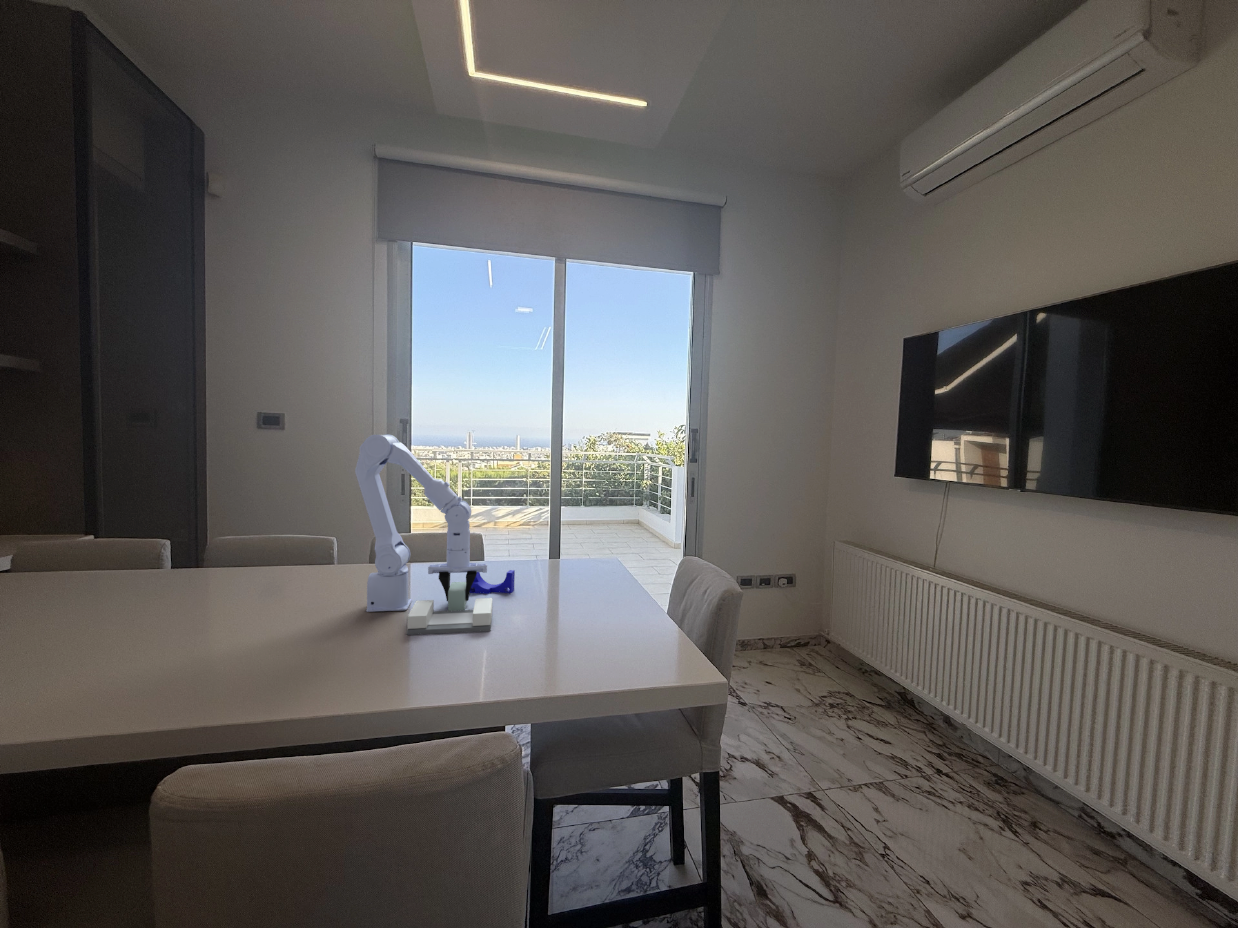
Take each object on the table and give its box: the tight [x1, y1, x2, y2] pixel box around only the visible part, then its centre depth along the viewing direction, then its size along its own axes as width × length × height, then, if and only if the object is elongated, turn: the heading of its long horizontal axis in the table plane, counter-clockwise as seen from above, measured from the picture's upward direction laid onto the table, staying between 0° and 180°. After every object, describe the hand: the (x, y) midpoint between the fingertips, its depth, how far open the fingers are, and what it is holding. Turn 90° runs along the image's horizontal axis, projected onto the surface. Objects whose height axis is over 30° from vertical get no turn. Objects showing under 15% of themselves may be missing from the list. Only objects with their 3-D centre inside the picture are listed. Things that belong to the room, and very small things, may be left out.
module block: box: [447, 581, 468, 611], centre depth 136 cm, size 4×8×5 cm, turn 12°
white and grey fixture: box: [406, 597, 493, 636], centre depth 123 cm, size 18×12×4 cm, turn 102°
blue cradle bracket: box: [469, 569, 516, 595], centre depth 149 cm, size 12×4×6 cm, turn 86°
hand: (457, 599), depth 136 cm, fingers closed on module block, 4 cm apart
